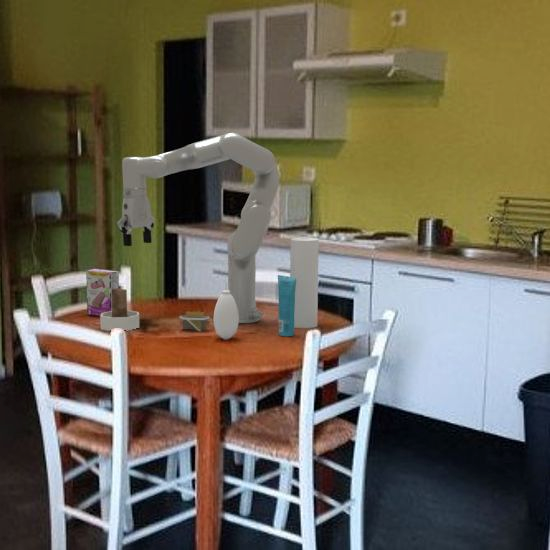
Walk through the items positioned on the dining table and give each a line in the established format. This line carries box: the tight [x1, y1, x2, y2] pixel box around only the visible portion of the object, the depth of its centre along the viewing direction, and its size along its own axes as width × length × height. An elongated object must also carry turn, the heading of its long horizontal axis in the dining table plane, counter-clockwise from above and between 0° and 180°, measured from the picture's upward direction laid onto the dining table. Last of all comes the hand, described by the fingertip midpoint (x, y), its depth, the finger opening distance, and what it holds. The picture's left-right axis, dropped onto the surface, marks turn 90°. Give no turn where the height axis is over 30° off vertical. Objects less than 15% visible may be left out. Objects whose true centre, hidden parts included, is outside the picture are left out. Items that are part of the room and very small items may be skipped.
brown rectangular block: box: [112, 288, 128, 317], centre depth 269 cm, size 4×2×12 cm, turn 55°
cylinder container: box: [289, 236, 320, 329], centre depth 273 cm, size 9×9×30 cm
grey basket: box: [179, 311, 210, 332], centre depth 266 cm, size 12×18×7 cm, turn 83°
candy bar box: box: [85, 268, 120, 318], centre depth 288 cm, size 11×5×16 cm, turn 63°
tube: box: [277, 274, 297, 337], centre depth 259 cm, size 7×5×19 cm, turn 57°
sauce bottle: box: [213, 282, 240, 340], centre depth 253 cm, size 8×8×18 cm
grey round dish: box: [99, 309, 140, 332], centre depth 270 cm, size 13×13×4 cm
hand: (137, 244), depth 275 cm, fingers open, 9 cm apart
